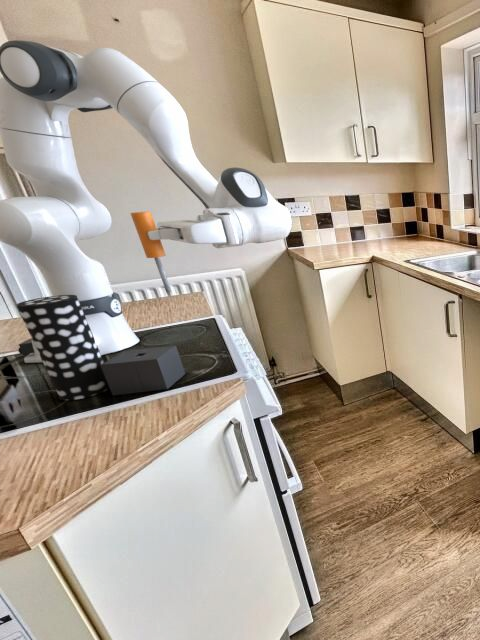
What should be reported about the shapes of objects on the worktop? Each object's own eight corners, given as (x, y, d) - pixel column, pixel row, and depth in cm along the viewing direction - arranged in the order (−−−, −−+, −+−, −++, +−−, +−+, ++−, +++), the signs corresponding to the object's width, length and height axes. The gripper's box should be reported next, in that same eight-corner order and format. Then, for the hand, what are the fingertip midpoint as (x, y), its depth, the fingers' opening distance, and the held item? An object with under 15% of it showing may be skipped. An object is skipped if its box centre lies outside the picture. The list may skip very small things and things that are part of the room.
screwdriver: (157, 296, 90) (126, 213, 84) (165, 292, 93) (135, 212, 87) (174, 294, 91) (145, 212, 84) (181, 291, 94) (153, 211, 87)
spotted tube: (52, 404, 84) (6, 308, 77) (69, 387, 91) (28, 298, 84) (105, 394, 88) (66, 301, 81) (118, 379, 95) (83, 292, 88)
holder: (112, 395, 87) (99, 364, 85) (135, 379, 94) (124, 350, 92) (167, 389, 89) (156, 359, 87) (185, 373, 97) (176, 345, 94)
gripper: (199, 212, 102) (125, 217, 92) (233, 215, 90) (154, 221, 80) (206, 239, 104) (136, 247, 94) (241, 244, 92) (165, 254, 82)
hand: (144, 235), depth 87 cm, fingers closed on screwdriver, 3 cm apart
